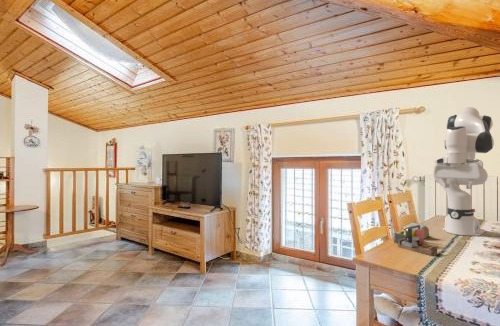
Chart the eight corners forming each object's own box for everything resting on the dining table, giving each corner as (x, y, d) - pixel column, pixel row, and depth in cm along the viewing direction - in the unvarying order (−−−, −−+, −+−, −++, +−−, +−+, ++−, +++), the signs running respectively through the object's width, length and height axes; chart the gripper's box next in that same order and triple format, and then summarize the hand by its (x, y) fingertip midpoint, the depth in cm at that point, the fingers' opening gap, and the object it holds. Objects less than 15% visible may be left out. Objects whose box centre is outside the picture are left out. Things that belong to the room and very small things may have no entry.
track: (404, 245, 142) (404, 238, 142) (437, 253, 128) (437, 246, 128) (398, 247, 139) (397, 239, 139) (431, 255, 125) (431, 247, 125)
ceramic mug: (421, 240, 150) (421, 225, 150) (407, 236, 158) (407, 223, 158) (433, 237, 155) (433, 223, 155) (419, 234, 162) (419, 221, 162)
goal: (407, 239, 153) (406, 222, 153) (420, 242, 146) (420, 225, 146) (393, 242, 147) (393, 225, 147) (407, 245, 141) (406, 228, 141)
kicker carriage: (417, 241, 144) (416, 224, 144) (427, 243, 140) (426, 226, 140) (401, 245, 138) (401, 228, 138) (411, 247, 133) (411, 230, 133)
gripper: (486, 159, 128) (486, 189, 128) (438, 160, 145) (438, 186, 145) (479, 159, 125) (480, 190, 124) (431, 160, 142) (432, 187, 142)
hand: (457, 188), depth 135 cm, fingers open, 8 cm apart
